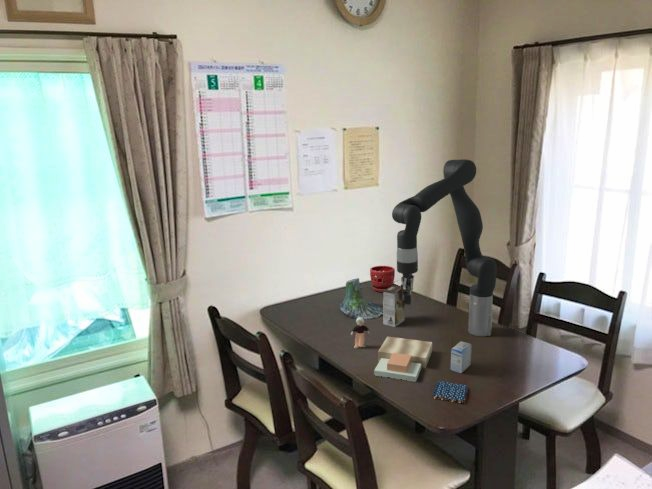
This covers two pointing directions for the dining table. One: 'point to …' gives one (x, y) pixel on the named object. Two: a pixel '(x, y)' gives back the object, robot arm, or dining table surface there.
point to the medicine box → (460, 357)
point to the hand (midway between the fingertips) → (407, 303)
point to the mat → (409, 376)
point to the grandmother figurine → (360, 333)
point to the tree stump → (358, 303)
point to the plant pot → (382, 277)
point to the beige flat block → (406, 349)
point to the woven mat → (450, 392)
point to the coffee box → (393, 306)
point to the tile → (399, 362)
